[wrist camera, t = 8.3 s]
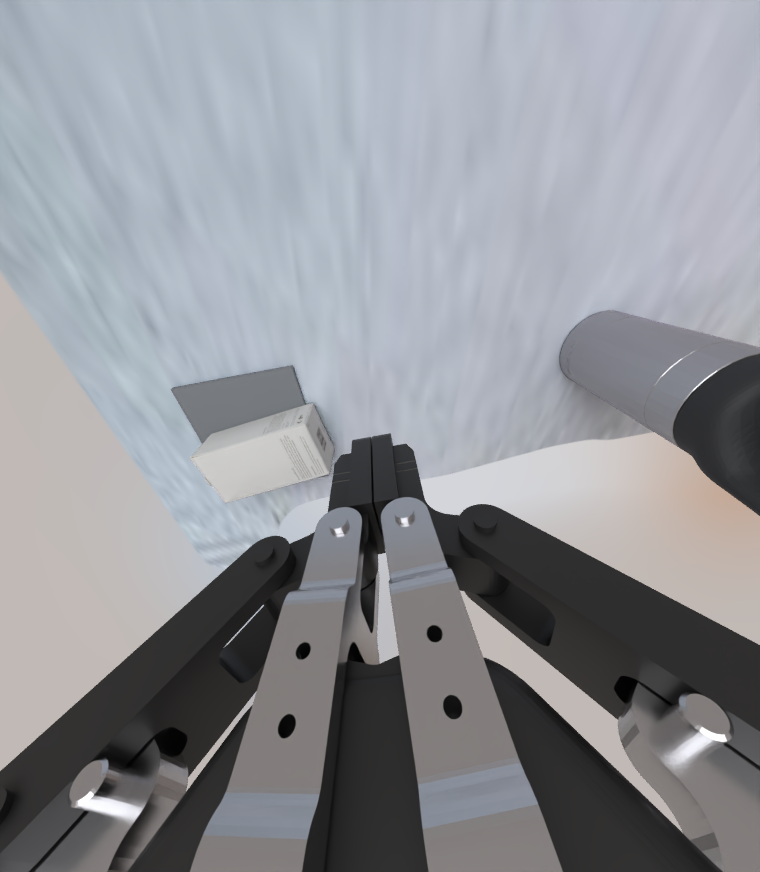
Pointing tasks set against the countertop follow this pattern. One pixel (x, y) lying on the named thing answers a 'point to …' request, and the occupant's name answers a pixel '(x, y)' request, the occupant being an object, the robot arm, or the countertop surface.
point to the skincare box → (266, 454)
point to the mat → (238, 399)
